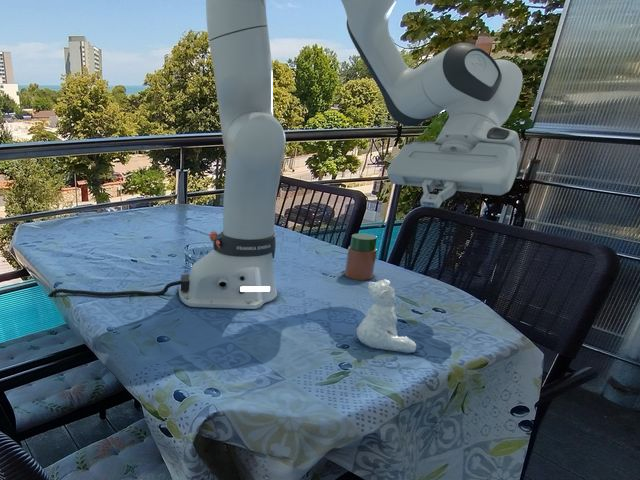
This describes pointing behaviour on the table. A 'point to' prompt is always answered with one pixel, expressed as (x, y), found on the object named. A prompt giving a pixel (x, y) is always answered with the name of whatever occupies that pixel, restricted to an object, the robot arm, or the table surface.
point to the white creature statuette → (383, 321)
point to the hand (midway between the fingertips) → (428, 205)
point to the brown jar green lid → (361, 256)
